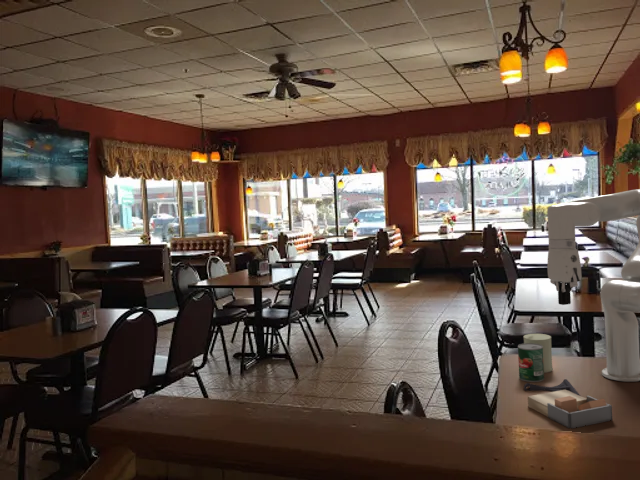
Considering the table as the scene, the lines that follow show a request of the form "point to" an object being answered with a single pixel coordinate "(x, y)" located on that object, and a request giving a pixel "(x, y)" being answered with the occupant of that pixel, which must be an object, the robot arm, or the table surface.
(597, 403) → the tile
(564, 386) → the bracket
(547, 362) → the can
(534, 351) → the canned tomato
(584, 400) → the board
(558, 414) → the bus tub
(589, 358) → the table surface
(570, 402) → the tile
